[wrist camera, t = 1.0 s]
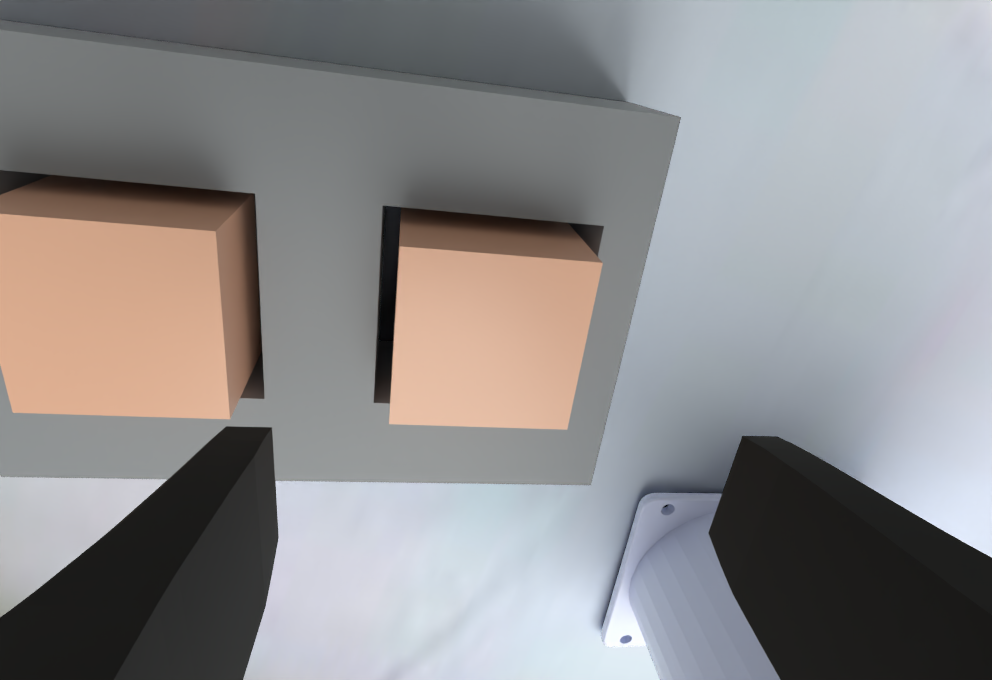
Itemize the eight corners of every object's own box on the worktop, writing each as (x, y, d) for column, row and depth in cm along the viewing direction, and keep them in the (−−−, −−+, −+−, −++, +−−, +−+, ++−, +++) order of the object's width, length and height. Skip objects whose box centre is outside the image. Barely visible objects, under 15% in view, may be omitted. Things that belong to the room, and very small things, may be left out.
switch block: (628, 102, 16) (680, 117, 13) (562, 416, 20) (590, 484, 17) (-8, 18, 13) (-132, 13, 10) (71, 400, 18) (1, 476, 15)
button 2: (566, 221, 15) (602, 262, 13) (540, 365, 17) (567, 429, 14) (400, 205, 15) (399, 246, 12) (392, 357, 16) (389, 424, 14)
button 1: (254, 192, 14) (215, 230, 11) (261, 351, 16) (230, 419, 13) (54, 173, 13) (-41, 210, 10) (86, 342, 15) (12, 412, 12)
